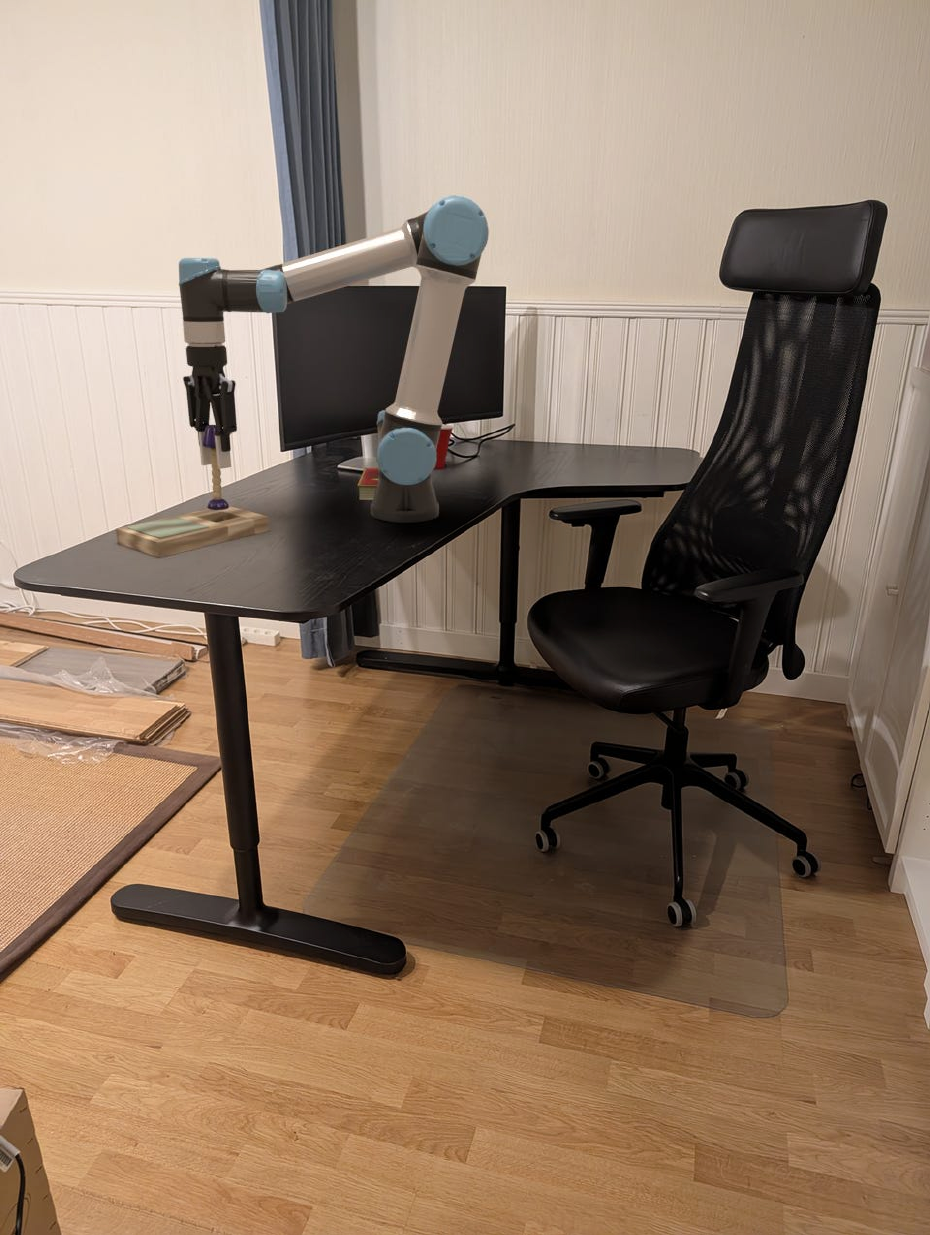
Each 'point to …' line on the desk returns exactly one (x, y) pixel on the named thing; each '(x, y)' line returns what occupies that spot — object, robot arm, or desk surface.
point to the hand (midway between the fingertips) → (216, 465)
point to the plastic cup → (443, 445)
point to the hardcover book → (368, 483)
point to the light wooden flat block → (191, 531)
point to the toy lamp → (214, 470)
